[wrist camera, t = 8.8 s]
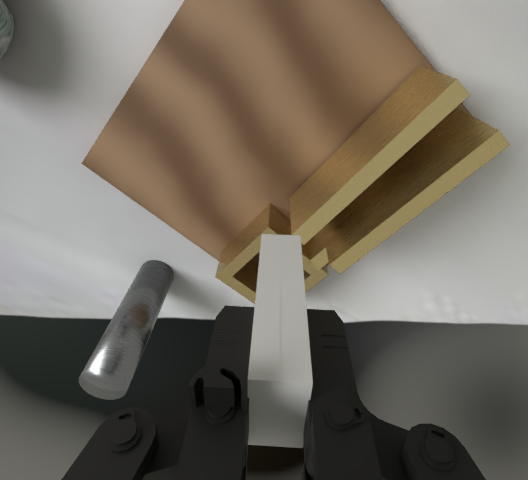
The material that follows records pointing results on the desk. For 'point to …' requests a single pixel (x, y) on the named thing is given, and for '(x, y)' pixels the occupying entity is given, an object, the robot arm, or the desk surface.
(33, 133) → the desk surface
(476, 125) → the fixed leaf
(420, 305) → the desk surface
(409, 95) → the tan flat bar
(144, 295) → the pin
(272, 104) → the board
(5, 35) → the spool
